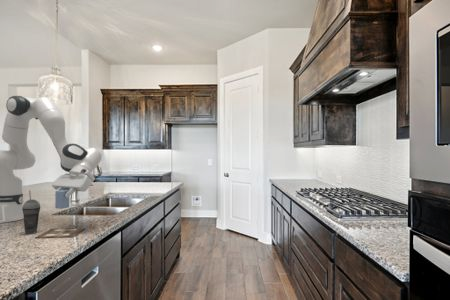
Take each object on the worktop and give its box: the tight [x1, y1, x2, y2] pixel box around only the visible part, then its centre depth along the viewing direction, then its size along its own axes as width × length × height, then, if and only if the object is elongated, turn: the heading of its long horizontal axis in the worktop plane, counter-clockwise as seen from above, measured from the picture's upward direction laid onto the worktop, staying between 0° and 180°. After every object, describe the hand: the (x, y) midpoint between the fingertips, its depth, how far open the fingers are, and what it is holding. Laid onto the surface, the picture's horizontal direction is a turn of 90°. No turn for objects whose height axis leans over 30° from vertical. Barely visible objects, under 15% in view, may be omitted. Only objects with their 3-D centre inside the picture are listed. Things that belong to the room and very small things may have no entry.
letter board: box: [34, 227, 86, 239], centre depth 130 cm, size 16×14×1 cm
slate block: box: [54, 190, 70, 210], centre depth 130 cm, size 4×4×8 cm
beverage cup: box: [22, 190, 42, 235], centre depth 131 cm, size 7×7×20 cm
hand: (61, 196), depth 129 cm, fingers closed on slate block, 4 cm apart
